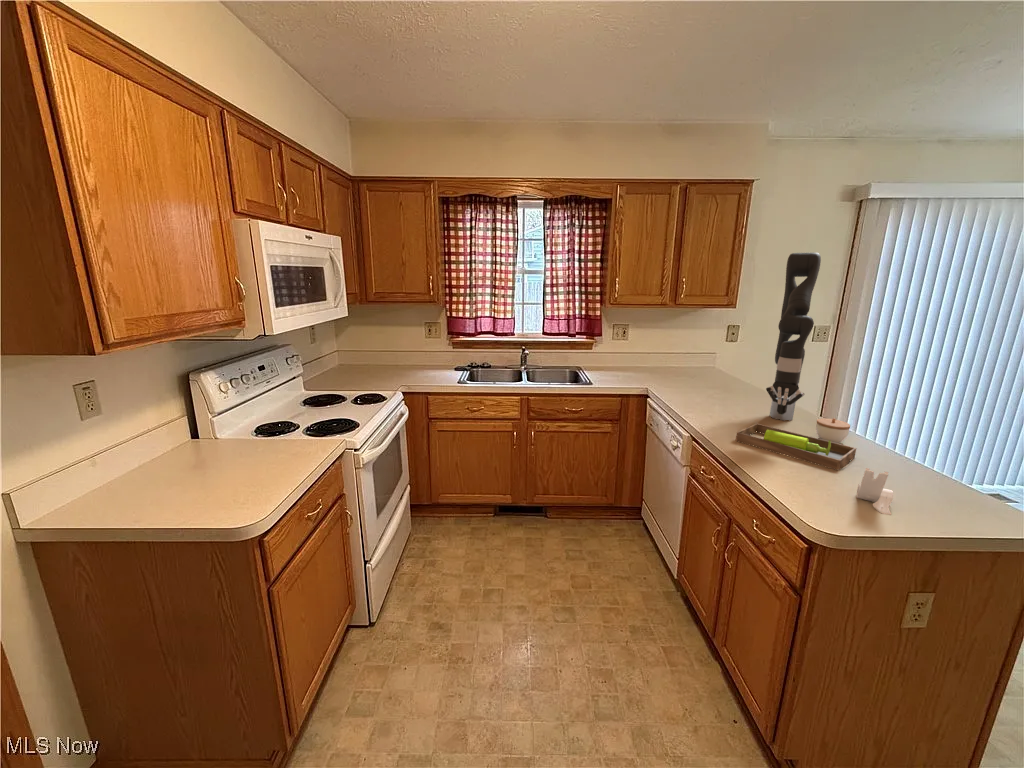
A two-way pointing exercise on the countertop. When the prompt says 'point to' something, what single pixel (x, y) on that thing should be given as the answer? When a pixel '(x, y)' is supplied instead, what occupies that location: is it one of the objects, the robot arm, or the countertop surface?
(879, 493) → the plastic part
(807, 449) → the soap dispenser
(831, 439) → the lidded jar
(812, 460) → the wooden tray
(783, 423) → the countertop surface
